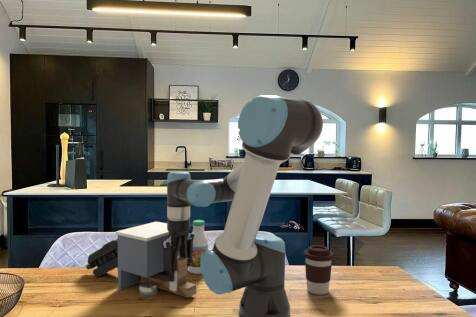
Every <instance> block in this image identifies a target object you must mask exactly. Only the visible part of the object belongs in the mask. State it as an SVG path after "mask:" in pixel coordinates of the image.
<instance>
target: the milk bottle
mask: <svg viewBox="0 0 476 317" xmlns="http://www.w3.org/2000/svg"><path fill="white" fill-rule="evenodd" d="M192 227H193V228H192V232H191V234H194V239H193V256H192V263H189V264H191V265H190V267H188V273H190V274H193V275H202V273H201V268H200V261H201V256H202V255H203V253H204V252H206V251H208V250H209V239H208V236H207V234H206V231H205V220H203V219H196V220H193V221H192ZM188 259H189V258H188Z"/></svg>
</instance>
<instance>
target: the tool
mask: <svg viewBox="0 0 476 317" xmlns="http://www.w3.org/2000/svg"><path fill="white" fill-rule="evenodd" d="M86 262H87V265H86V266H85V268H86V270H88V271H89V270H92V269H93V270H92V274H93V276H94V277H95V278H99V277H101V276H103V275H105V274H107V273H109V272H111V271H112V270H115V269H116V268H117V269H118V238H116V239H112V240H110V241H108V242H107V243H104V244H103V245H102V246H101V247H100V248H99V249H97V250H96V251H94V252H92V253H91V254H89V255H88V257H87V261H86Z"/></svg>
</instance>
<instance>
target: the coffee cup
mask: <svg viewBox="0 0 476 317" xmlns="http://www.w3.org/2000/svg"><path fill="white" fill-rule="evenodd" d="M303 257H304V258H305V261H304V267H305V268H304V270H305V279H306V290H307V291H308V293H310V294H313V295H318V296H319V295H320V296H321V295H322V296H323V295H326V294H328V293H329V292H330V290H329V289H330V281H331V276H332V274H331V273H332V260H333V259H334V252H332V251H331V250H330V248H329V247H327V246H323V245H316V244H315V245H310V246H308V248H307V249H305V250H304V251H303Z"/></svg>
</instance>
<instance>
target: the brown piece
mask: <svg viewBox="0 0 476 317" xmlns="http://www.w3.org/2000/svg"><path fill="white" fill-rule="evenodd" d="M175 271H177V291H176V292H175V291H172V290H170V281H169V276H165V275H162V274H159V273H157V274H154V275H152V276H150V277H147V278H146V277H143V276H141V282H140V284H141V283H143V282H148V281H153V282H156V283H157V284H158V289H159V290H163V291H166V292H170V293H172V294H176V295H179V296H182V297H184V298H187V299H188V298H190V297H193V296H194V295H196V294H197V284H195V283H192V282H189V281H188V274H187V258H184V257H180V256H177V264H176V270H175Z"/></svg>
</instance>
